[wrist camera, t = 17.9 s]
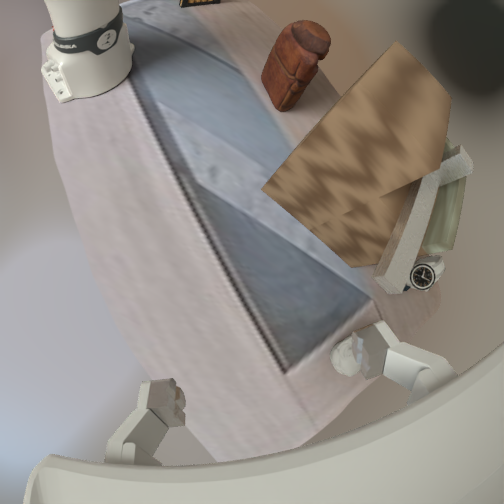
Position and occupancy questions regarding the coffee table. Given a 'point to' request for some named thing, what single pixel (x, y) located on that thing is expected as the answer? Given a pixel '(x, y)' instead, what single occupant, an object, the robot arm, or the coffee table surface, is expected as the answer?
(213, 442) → the coffee table surface
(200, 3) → the ammunition clip
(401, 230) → the aluminium bracket
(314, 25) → the wooden figurine
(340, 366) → the white rough round lump
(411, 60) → the stepped shelf
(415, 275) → the watch
